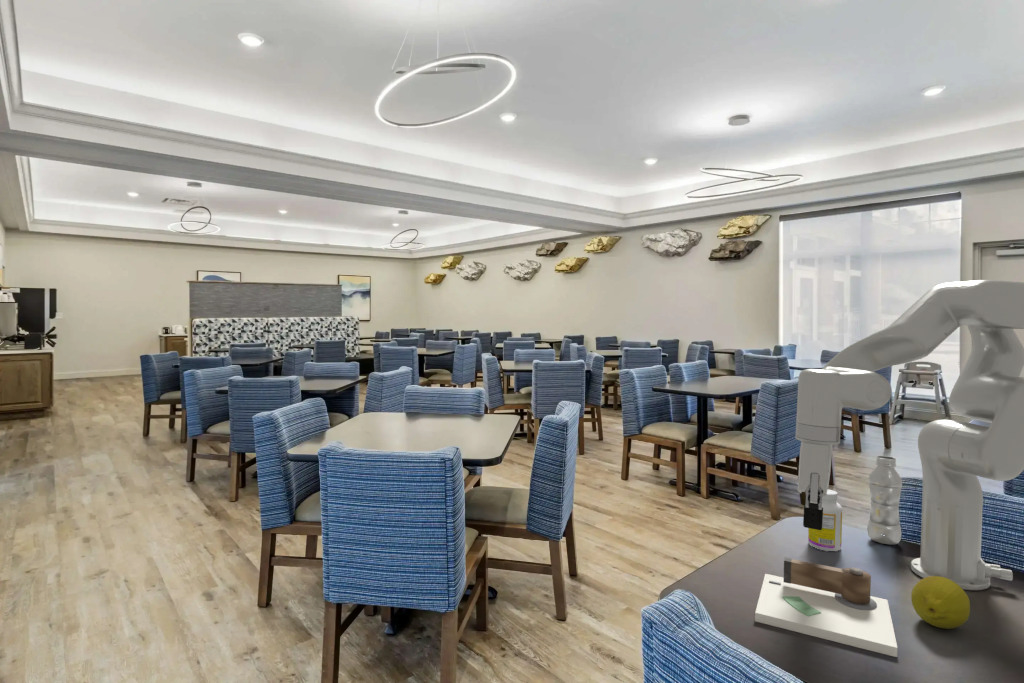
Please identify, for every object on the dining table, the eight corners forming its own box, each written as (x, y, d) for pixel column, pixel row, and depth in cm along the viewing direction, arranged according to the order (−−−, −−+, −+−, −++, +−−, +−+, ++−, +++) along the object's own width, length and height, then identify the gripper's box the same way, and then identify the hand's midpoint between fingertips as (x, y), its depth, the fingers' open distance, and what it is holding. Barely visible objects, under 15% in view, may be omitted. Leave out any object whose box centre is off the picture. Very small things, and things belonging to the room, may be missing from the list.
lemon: (926, 607, 99) (928, 563, 99) (980, 627, 93) (982, 581, 92) (896, 623, 94) (898, 577, 94) (951, 646, 87) (953, 597, 87)
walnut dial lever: (869, 595, 99) (870, 568, 99) (870, 606, 95) (871, 577, 95) (784, 577, 106) (785, 551, 106) (782, 586, 102) (783, 560, 102)
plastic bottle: (906, 549, 125) (909, 461, 124) (873, 546, 126) (876, 460, 126) (893, 538, 131) (895, 455, 131) (861, 536, 133) (864, 453, 132)
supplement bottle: (823, 539, 130) (824, 485, 130) (848, 550, 124) (849, 494, 124) (801, 543, 128) (802, 488, 128) (825, 554, 122) (827, 497, 121)
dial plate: (887, 607, 99) (887, 598, 99) (897, 657, 84) (897, 646, 84) (765, 581, 109) (765, 572, 109) (755, 621, 94) (755, 611, 94)
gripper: (797, 425, 115) (793, 512, 115) (793, 436, 102) (788, 535, 102) (839, 430, 111) (834, 520, 111) (841, 442, 98) (835, 544, 98)
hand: (812, 527), depth 107 cm, fingers closed
